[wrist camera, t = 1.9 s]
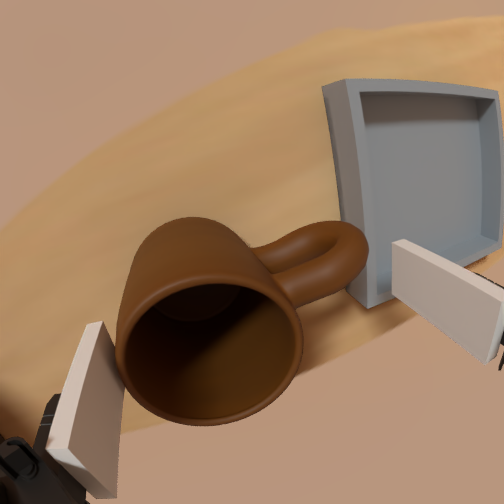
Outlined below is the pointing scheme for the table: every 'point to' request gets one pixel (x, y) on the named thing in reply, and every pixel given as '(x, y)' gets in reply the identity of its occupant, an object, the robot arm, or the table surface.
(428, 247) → the tray
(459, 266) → the robot arm
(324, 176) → the table surface
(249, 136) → the table surface
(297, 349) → the mug
